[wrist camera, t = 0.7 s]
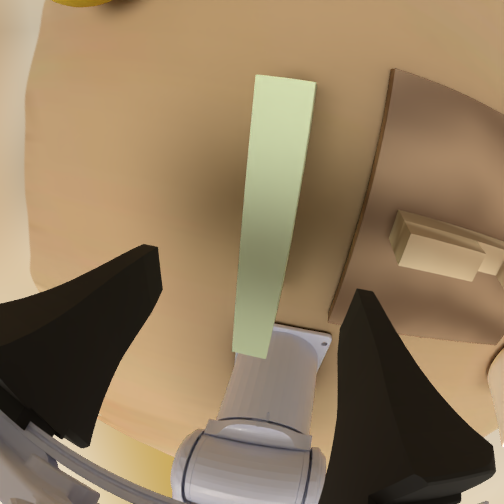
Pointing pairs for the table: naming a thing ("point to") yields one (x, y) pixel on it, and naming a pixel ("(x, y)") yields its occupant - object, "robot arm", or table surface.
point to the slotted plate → (270, 204)
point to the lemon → (81, 2)
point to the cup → (498, 390)
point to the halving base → (432, 217)
